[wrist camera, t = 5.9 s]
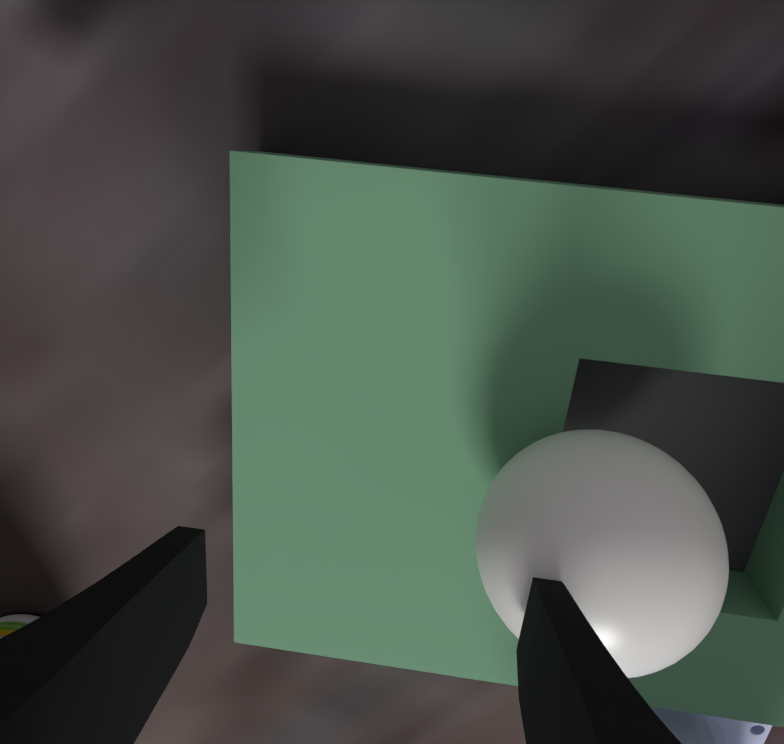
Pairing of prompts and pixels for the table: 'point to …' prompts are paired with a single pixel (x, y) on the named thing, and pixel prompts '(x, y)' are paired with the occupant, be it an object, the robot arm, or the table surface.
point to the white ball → (607, 543)
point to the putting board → (489, 400)
